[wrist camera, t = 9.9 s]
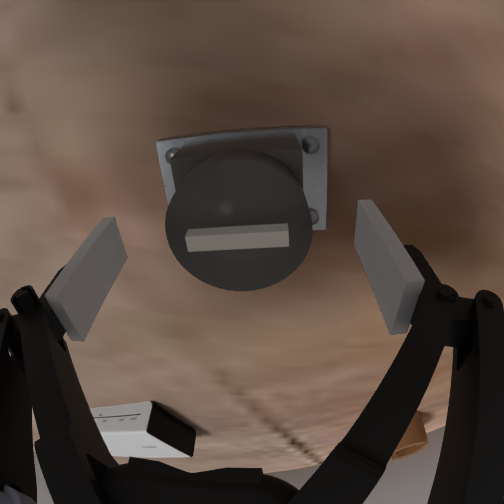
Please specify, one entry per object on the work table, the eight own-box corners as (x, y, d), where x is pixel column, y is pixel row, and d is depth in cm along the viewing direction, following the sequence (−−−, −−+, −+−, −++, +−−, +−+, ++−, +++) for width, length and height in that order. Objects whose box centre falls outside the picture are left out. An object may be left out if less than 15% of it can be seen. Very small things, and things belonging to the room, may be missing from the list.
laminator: (154, 398, 42) (146, 432, 37) (200, 429, 48) (197, 459, 43) (55, 409, 52) (46, 430, 47) (93, 435, 58) (87, 455, 53)
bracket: (408, 406, 43) (416, 439, 37) (426, 413, 46) (435, 443, 40) (331, 444, 51) (334, 474, 45) (355, 449, 54) (359, 476, 48)
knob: (200, 235, 24) (178, 301, 18) (184, 139, 20) (146, 176, 14) (299, 229, 24) (312, 296, 17) (297, 130, 20) (315, 162, 13)
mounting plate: (160, 138, 21) (135, 157, 17) (324, 125, 20) (340, 140, 16) (178, 231, 25) (162, 266, 21) (323, 223, 25) (335, 258, 20)
